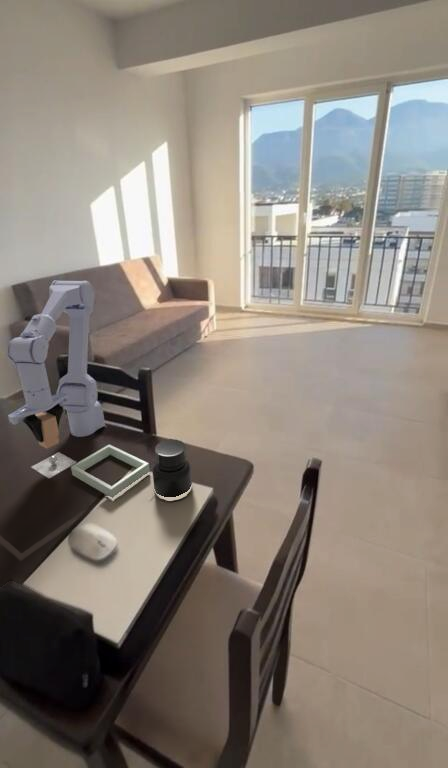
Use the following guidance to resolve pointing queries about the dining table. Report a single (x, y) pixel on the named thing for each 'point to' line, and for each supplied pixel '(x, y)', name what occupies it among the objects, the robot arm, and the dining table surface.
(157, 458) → the ink bottle
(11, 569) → the dining table surface
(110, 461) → the dining table surface
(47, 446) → the light orange block
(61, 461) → the stud plate
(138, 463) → the parts bin
